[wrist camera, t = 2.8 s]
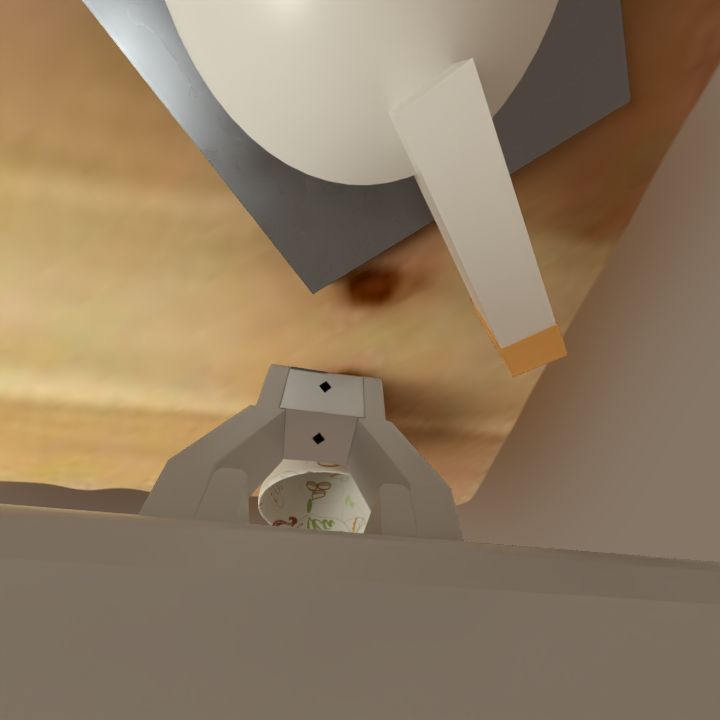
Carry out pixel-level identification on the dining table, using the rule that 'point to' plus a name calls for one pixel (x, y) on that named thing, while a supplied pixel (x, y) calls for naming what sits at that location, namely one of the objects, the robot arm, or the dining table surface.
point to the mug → (313, 497)
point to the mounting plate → (378, 201)
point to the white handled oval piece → (395, 120)
